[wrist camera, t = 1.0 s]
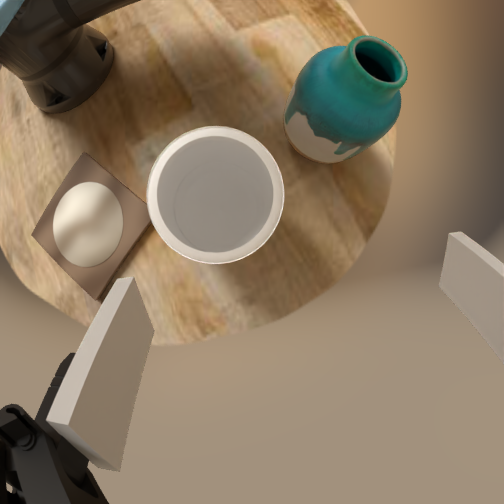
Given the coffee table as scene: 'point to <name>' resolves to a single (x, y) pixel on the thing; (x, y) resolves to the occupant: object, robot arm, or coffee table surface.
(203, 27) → the coffee table surface
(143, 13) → the coffee table surface
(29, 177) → the coffee table surface
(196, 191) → the jar
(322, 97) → the vase
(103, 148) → the coffee table surface
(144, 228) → the walnut board
